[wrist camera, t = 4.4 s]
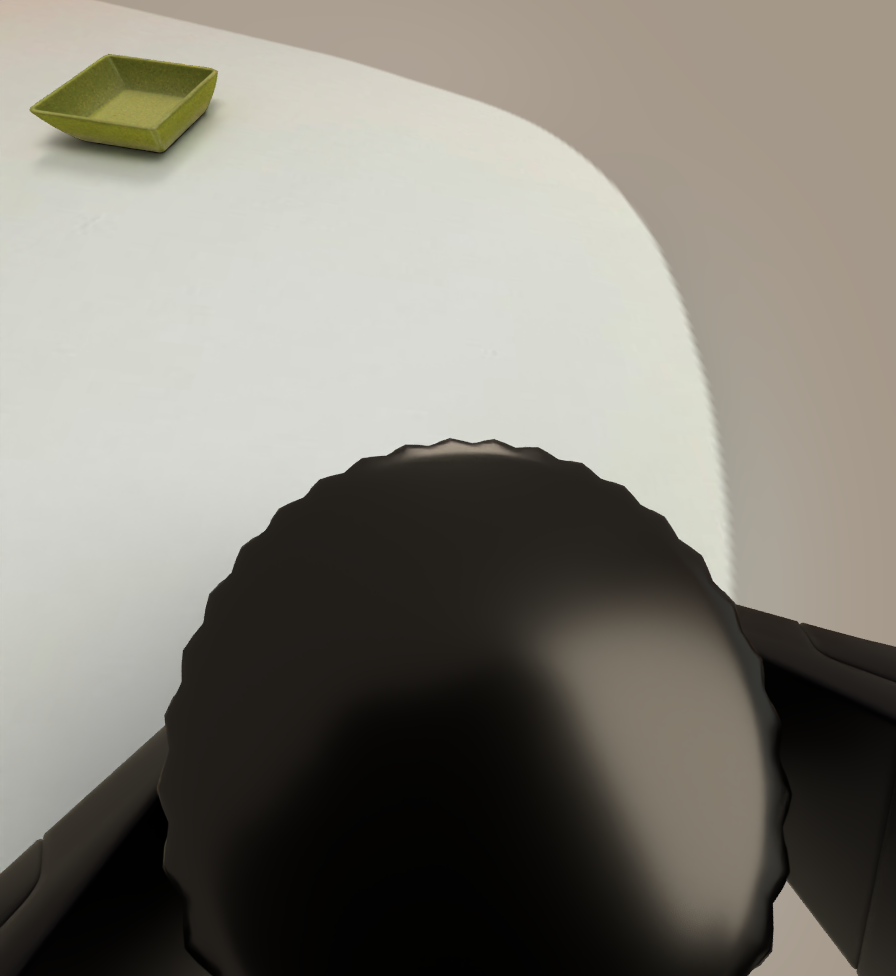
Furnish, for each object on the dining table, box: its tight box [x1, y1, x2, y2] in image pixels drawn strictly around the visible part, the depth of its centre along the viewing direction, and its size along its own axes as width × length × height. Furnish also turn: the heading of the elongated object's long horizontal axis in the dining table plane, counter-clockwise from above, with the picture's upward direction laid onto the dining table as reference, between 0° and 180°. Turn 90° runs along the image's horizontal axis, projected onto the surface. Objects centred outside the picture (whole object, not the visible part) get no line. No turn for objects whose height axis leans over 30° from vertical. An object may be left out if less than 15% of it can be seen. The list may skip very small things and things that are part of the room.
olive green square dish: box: [30, 54, 218, 152], centre depth 30 cm, size 9×9×2 cm
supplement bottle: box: [157, 438, 792, 976], centre depth 9 cm, size 7×7×12 cm
